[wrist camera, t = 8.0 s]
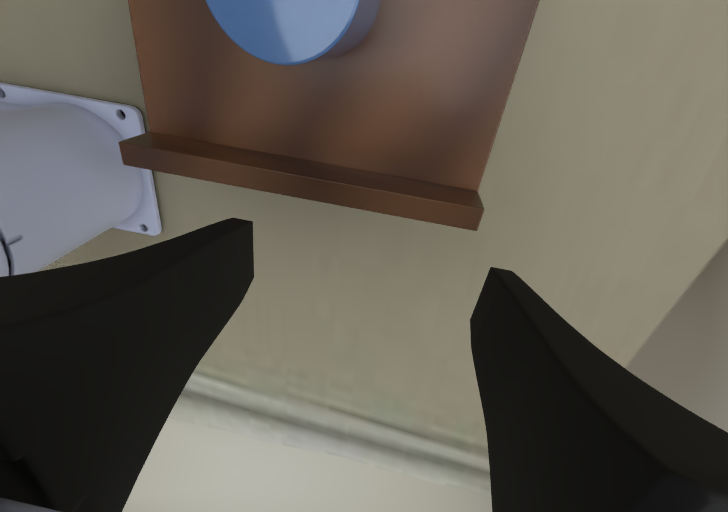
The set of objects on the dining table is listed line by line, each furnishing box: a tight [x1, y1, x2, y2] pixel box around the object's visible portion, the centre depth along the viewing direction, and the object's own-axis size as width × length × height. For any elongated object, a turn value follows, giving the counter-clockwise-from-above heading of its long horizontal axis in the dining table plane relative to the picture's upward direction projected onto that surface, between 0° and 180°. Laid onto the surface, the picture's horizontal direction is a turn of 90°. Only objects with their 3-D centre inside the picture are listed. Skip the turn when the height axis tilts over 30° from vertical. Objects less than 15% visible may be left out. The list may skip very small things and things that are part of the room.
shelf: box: [119, 0, 539, 231], centre depth 15 cm, size 15×10×6 cm, turn 82°
